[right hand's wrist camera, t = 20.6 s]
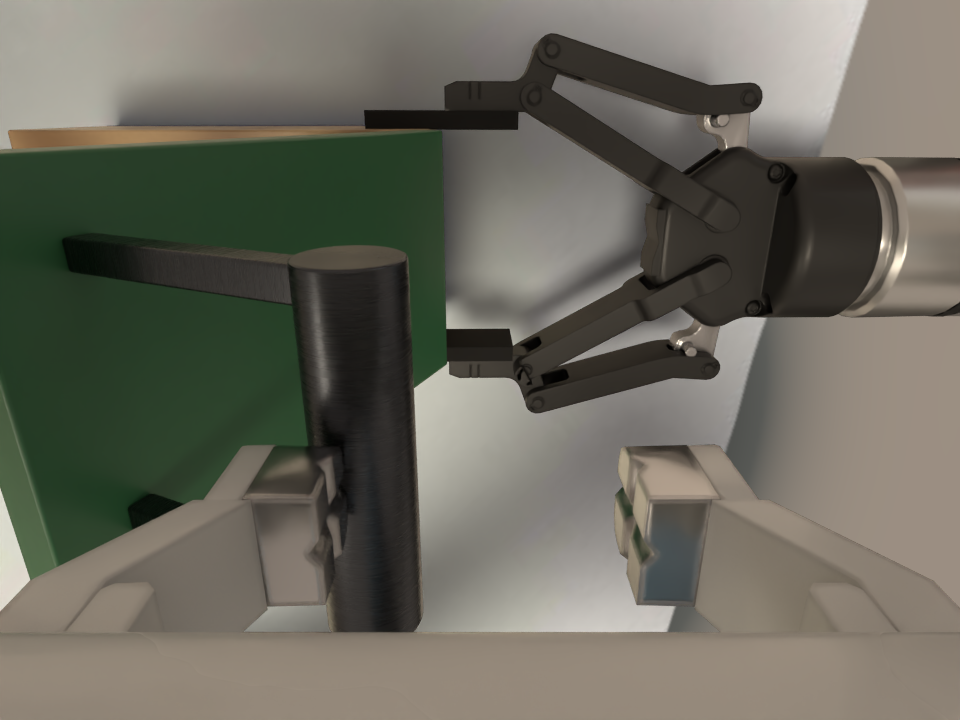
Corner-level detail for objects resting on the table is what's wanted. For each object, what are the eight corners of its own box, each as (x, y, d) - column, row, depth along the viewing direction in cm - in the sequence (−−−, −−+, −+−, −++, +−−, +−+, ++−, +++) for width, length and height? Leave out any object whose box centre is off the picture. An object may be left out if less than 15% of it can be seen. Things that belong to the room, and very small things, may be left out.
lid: (40, 616, 14) (361, 774, 11) (-112, 155, 11) (300, 173, 7) (422, 360, 29) (609, 393, 25) (414, 129, 25) (631, 132, 22)
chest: (152, 306, 37) (65, 360, 29) (116, 125, 33) (5, 129, 25) (441, 304, 37) (436, 356, 29) (437, 125, 34) (429, 129, 26)
